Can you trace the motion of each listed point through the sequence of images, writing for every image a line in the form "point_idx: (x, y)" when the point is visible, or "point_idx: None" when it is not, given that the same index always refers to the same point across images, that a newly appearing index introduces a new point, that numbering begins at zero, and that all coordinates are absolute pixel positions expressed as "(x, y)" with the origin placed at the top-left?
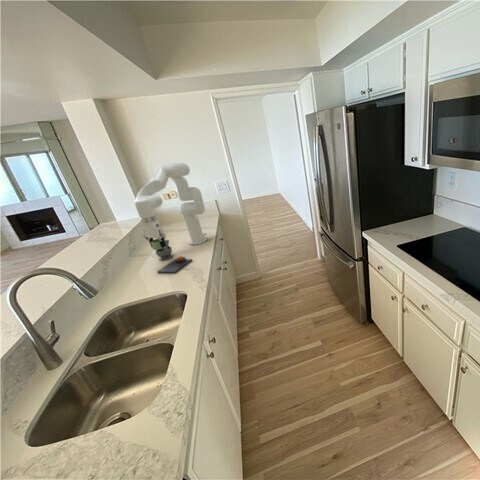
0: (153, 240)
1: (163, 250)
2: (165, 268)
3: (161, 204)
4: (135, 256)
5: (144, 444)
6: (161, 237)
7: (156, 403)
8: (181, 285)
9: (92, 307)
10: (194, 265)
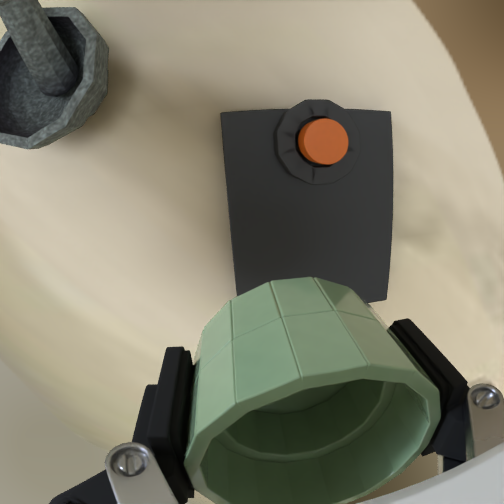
0: (199, 461)
1: (30, 72)
2: (272, 275)
3: None
4: None
5: None
6: (475, 451)
7: None
8: (461, 361)
9: (197, 500)
10: (438, 179)
